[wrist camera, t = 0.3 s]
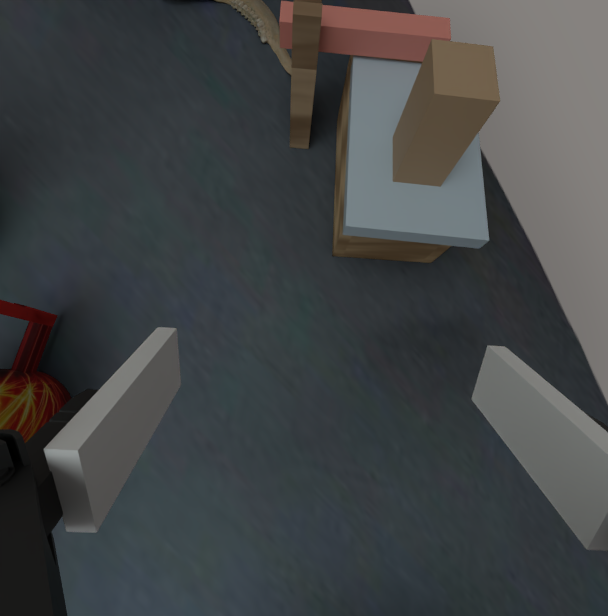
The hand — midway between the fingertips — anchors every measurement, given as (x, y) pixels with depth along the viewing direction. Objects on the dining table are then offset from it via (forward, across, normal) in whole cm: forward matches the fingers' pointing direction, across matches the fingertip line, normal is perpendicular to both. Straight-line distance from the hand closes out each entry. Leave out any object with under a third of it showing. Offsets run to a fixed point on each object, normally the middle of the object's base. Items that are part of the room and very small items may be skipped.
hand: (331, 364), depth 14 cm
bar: (+21, -2, -18) cm, 27 cm away
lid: (+17, -7, -10) cm, 20 cm away
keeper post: (+29, +2, -12) cm, 31 cm away
